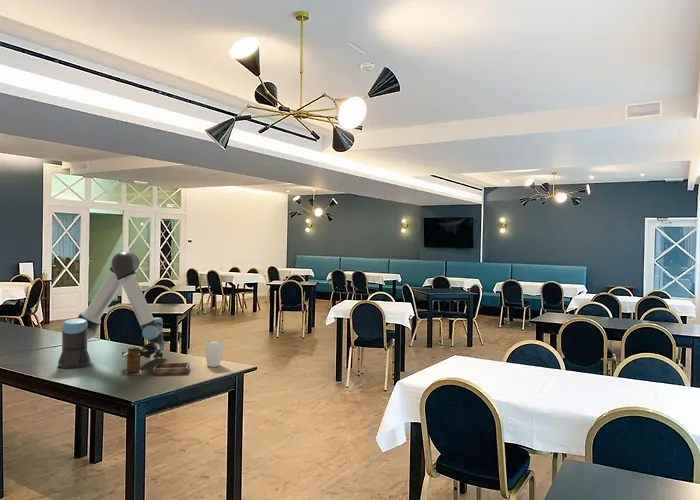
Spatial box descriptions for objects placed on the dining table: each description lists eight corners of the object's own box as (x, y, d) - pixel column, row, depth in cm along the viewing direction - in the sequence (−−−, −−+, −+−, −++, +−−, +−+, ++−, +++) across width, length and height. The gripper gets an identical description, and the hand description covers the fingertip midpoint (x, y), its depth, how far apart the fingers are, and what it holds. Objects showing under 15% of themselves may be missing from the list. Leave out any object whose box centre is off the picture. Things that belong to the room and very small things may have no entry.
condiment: (140, 370, 275) (140, 346, 275) (141, 374, 268) (142, 349, 268) (124, 371, 272) (125, 347, 272) (125, 375, 265) (126, 350, 265)
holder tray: (152, 375, 266) (152, 368, 266) (156, 369, 279) (156, 363, 278) (187, 374, 269) (187, 367, 269) (189, 368, 282) (189, 362, 282)
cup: (219, 367, 284) (220, 344, 284) (202, 367, 284) (202, 344, 284) (224, 364, 293) (224, 341, 293) (207, 363, 293) (207, 341, 293)
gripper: (174, 356, 294) (162, 365, 273) (126, 356, 293) (111, 365, 272) (174, 342, 294) (162, 350, 273) (126, 342, 293) (111, 350, 272)
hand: (137, 357), depth 273 cm, fingers open, 13 cm apart
